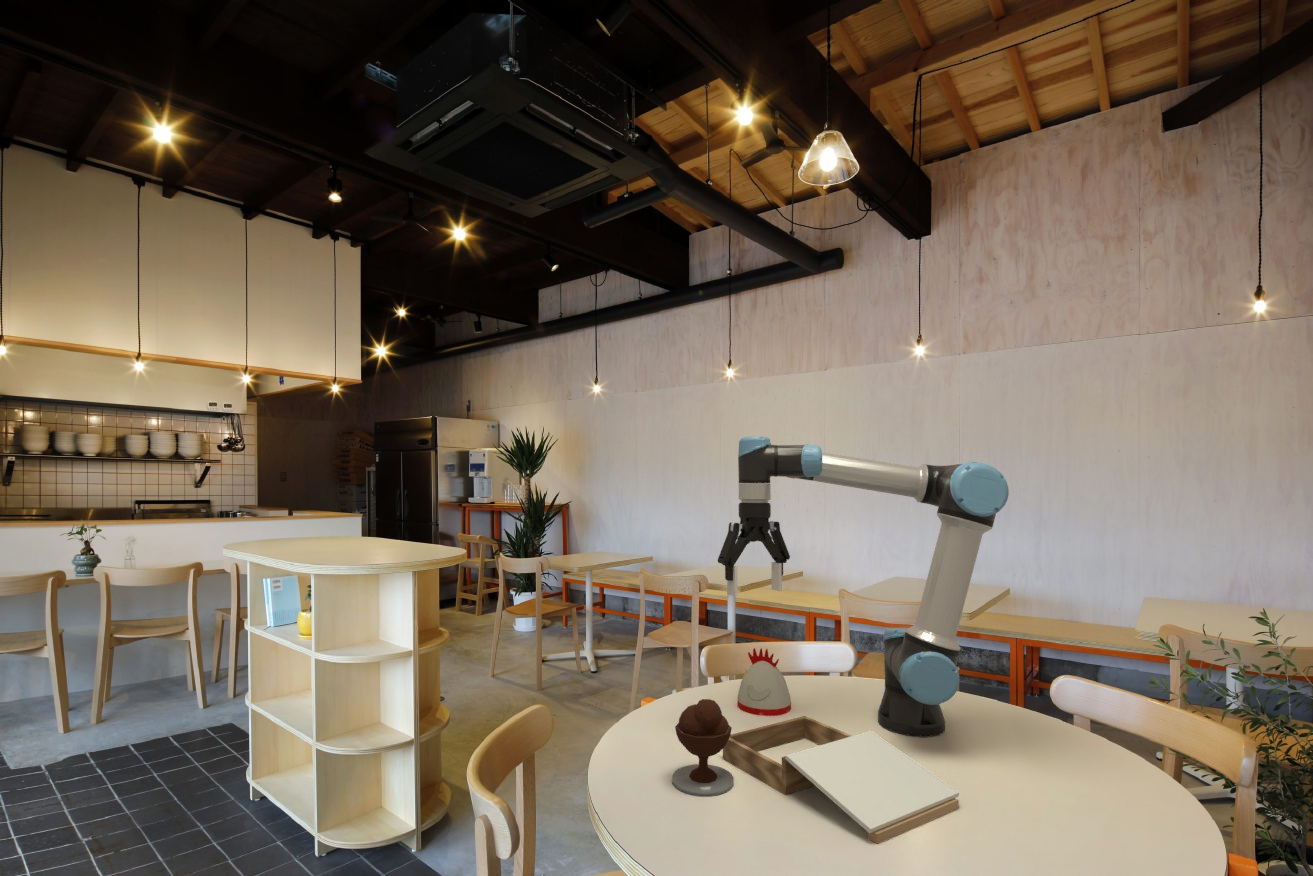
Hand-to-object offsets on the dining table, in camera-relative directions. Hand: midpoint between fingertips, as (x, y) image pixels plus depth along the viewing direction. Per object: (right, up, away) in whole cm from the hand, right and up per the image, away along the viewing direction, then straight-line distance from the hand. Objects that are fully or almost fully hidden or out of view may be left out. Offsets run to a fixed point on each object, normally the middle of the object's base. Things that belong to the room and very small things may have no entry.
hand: (755, 592), depth 151 cm
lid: (+16, -30, -33) cm, 48 cm away
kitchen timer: (+5, -35, +18) cm, 39 cm away
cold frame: (+6, -32, -16) cm, 36 cm away
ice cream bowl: (-14, -30, -25) cm, 42 cm away
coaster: (-14, -31, -26) cm, 42 cm away
